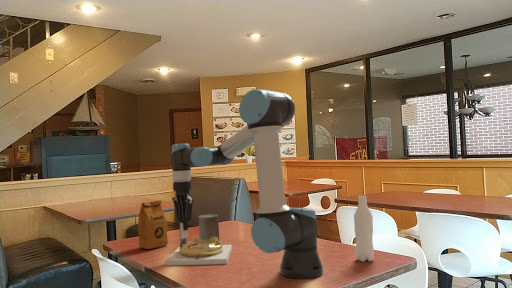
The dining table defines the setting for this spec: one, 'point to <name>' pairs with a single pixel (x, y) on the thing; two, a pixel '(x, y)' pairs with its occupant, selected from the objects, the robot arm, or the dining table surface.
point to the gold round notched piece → (200, 247)
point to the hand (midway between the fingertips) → (184, 238)
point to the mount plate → (200, 258)
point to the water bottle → (363, 231)
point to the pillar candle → (208, 226)
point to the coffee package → (152, 226)
